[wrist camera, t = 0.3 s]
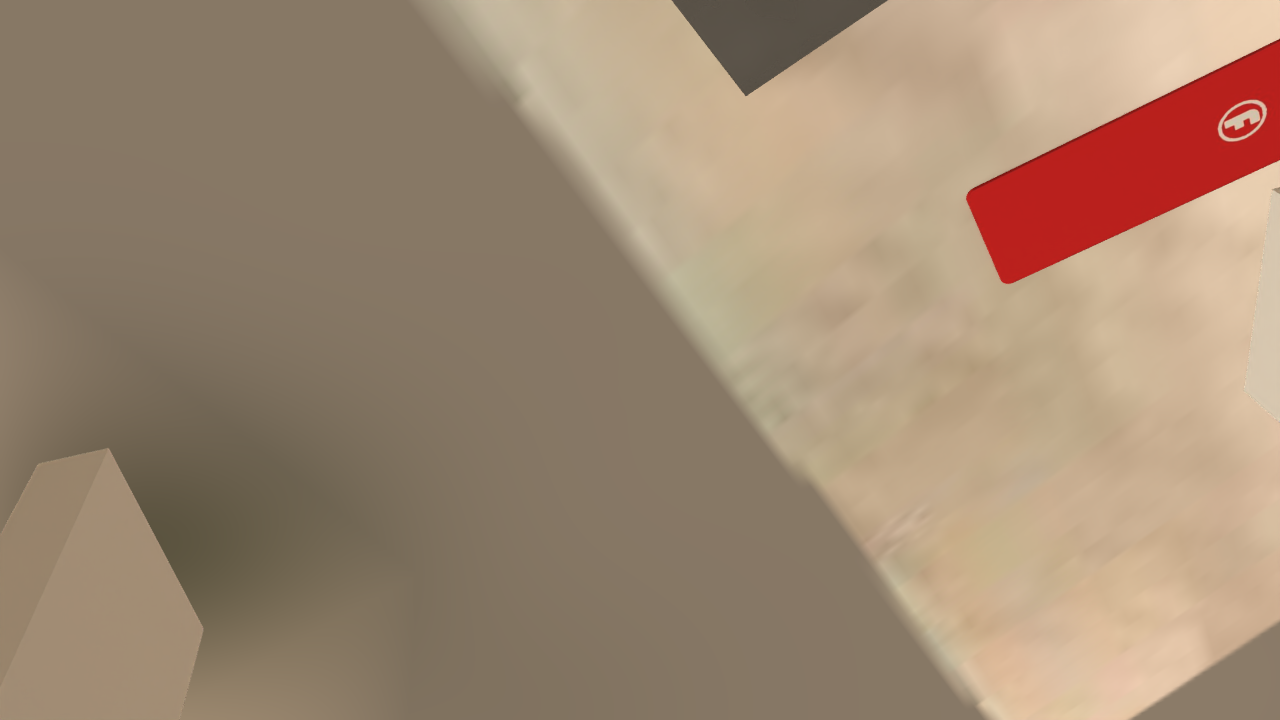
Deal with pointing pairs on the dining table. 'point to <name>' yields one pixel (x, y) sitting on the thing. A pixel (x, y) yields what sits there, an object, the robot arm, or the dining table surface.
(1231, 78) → the electronic device
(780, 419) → the dining table surface
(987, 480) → the dining table surface
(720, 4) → the breaker box
